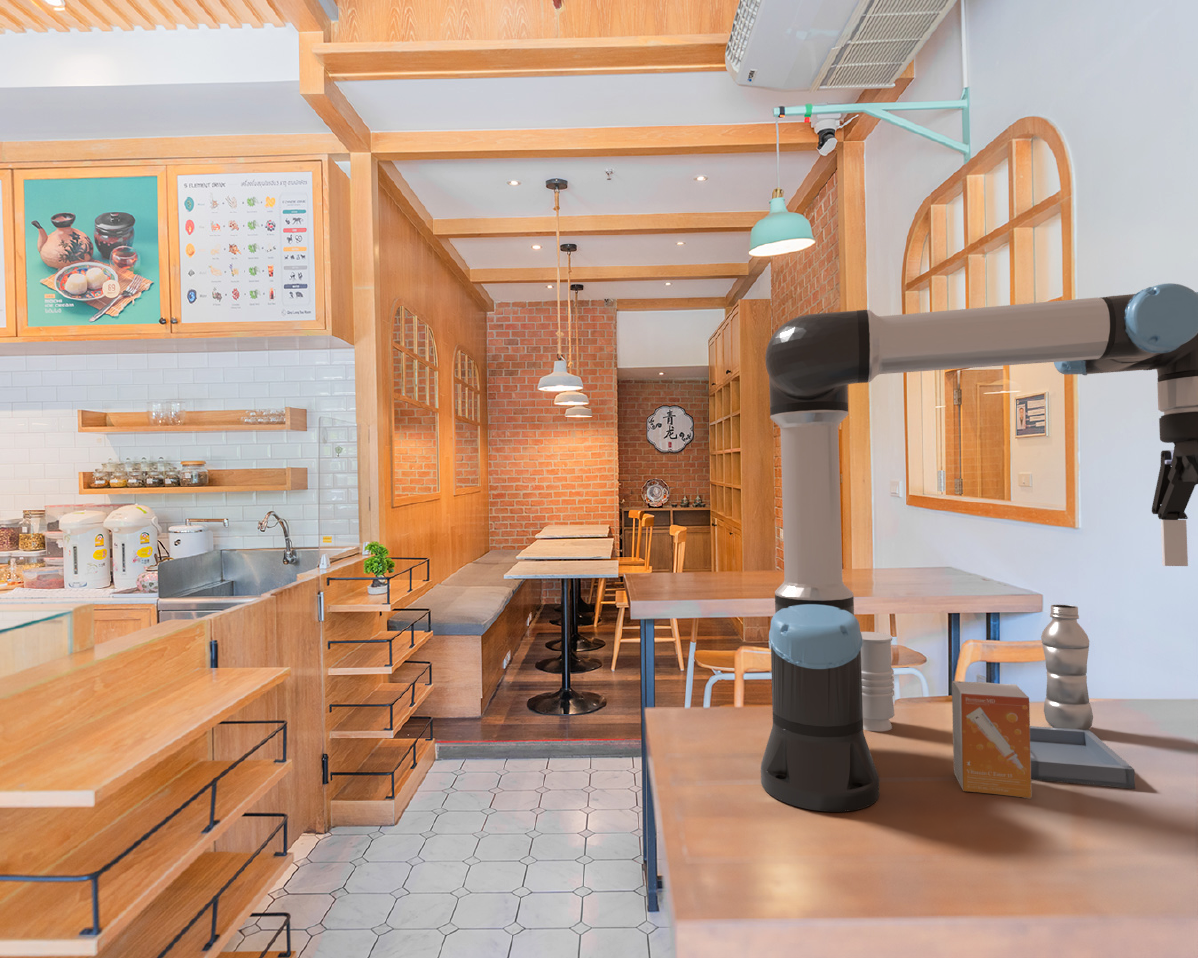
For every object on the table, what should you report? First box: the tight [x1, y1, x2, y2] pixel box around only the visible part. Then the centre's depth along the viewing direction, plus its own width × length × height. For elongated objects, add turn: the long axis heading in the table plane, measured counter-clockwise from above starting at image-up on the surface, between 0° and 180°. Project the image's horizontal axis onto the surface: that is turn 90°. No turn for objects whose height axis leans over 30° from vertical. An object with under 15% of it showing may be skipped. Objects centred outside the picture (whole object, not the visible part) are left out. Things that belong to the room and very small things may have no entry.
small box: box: [951, 680, 1032, 800], centre depth 91 cm, size 8×6×13 cm
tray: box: [1030, 725, 1136, 789], centre depth 98 cm, size 12×15×2 cm
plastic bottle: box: [1040, 604, 1094, 730], centre depth 111 cm, size 6×7×20 cm
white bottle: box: [860, 631, 895, 732], centre depth 115 cm, size 7×7×15 cm
